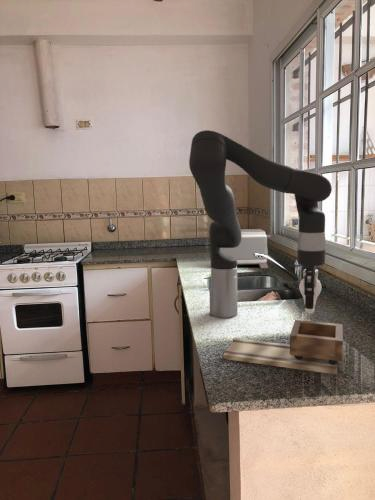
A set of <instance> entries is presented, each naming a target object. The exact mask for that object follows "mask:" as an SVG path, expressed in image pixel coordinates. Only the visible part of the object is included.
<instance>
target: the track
mask: <svg viewBox="0 0 375 500" xmlns="http://www.w3.org/2000/svg"><path fill="white" fill-rule="evenodd" d="M223 360H229V361H236V362H244V363H252V364H257V365H258V364H260V365H264V366H265V365H266V366H272V367H281V368H285V369H286V368H288V369H292V370H293V369H294V370H302V371H308V372H316V373H322V374H323V373H324V374H329V375H330V374H331V375H335V376H337V375H338V362H339V361H337V363H336V364H330V363H329V360H328V359H320V358H312V357H304V356H303V358H302V359H301V360H297V359H296V358H295V356H294V355H290V343H289V344H288V343H287V344H286V343H279V342H271V341H270V342H269V341H262V340H254V339H246V338H237V337H236V338H235V337H234V338H233V339H232V341H231V343H230V344H229V346H228V347H227V349H225V351H224V353H223Z"/></svg>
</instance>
